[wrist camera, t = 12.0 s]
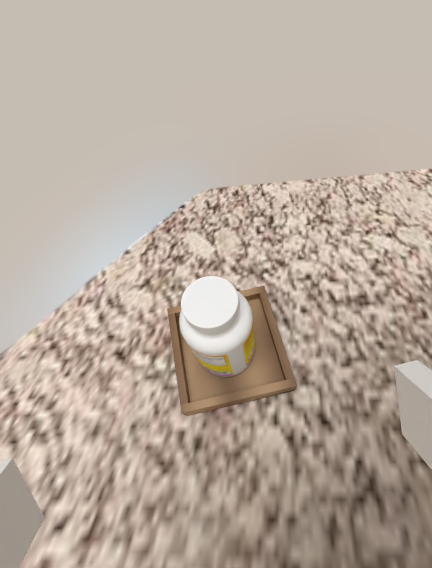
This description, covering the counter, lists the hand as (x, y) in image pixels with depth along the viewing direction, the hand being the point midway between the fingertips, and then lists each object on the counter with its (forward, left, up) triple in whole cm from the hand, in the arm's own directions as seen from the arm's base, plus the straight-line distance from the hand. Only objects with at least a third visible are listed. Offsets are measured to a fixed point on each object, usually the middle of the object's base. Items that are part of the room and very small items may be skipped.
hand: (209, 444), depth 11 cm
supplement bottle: (-1, -11, -23) cm, 26 cm away
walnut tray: (-1, -11, -24) cm, 27 cm away
